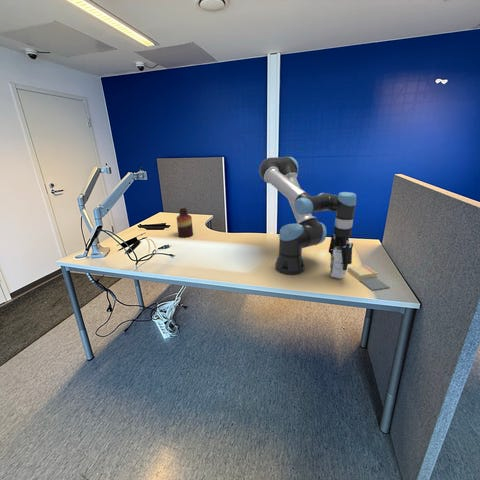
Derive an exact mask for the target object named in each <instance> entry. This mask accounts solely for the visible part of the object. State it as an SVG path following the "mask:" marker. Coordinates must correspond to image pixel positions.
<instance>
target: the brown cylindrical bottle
mask: <svg viewBox="0 0 480 480" xmlns="http://www.w3.org/2000/svg"><path fill="white" fill-rule="evenodd" d="M178 212H179V215H177V216H176V225H177V234H178V237H179V238H183V239H186V238H191V237H193V236H194V229H193V219H192V215H191V214H189V211H188V208H186V207H182V208H179V210H178Z"/></svg>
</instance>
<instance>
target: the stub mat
mask: <svg viewBox="0 0 480 480" xmlns="http://www.w3.org/2000/svg"><path fill="white" fill-rule="evenodd" d="M358 282H360V283H361V284H362V283H363V284H362V285H364V286H365V287H366V286H367V287H366V288H367V289H369V290H370V291H372V292H373V291H381V290H386V289H390V286H389V285H387V284H386V283H385V282H383V281H381V280H380V279H378V277H376V278H369V279H362V280H358Z"/></svg>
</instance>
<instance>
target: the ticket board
mask: <svg viewBox="0 0 480 480" xmlns="http://www.w3.org/2000/svg"><path fill="white" fill-rule="evenodd" d="M346 273H348V274H350V275H351V276H353V277H354V278H355V279H357V280H358V281H359V280H363V279H370V278H378V272H376V271H375V270H373V269H372V268H370V267H369V266H367V265H365V264H362V265H357V266H347V270H346Z"/></svg>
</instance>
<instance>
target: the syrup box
mask: <svg viewBox="0 0 480 480" xmlns="http://www.w3.org/2000/svg"><path fill="white" fill-rule="evenodd" d="M345 252H346V251H345ZM330 263H331V262H330ZM341 263H343V261H342V253H341V249H340V246H337V247H335V248H334V250H333V256H332V263H331V268H330V271H329V272H330V273H329V276H330V277H331V278H336V279H343V277H344V276H340V269H341Z"/></svg>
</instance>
